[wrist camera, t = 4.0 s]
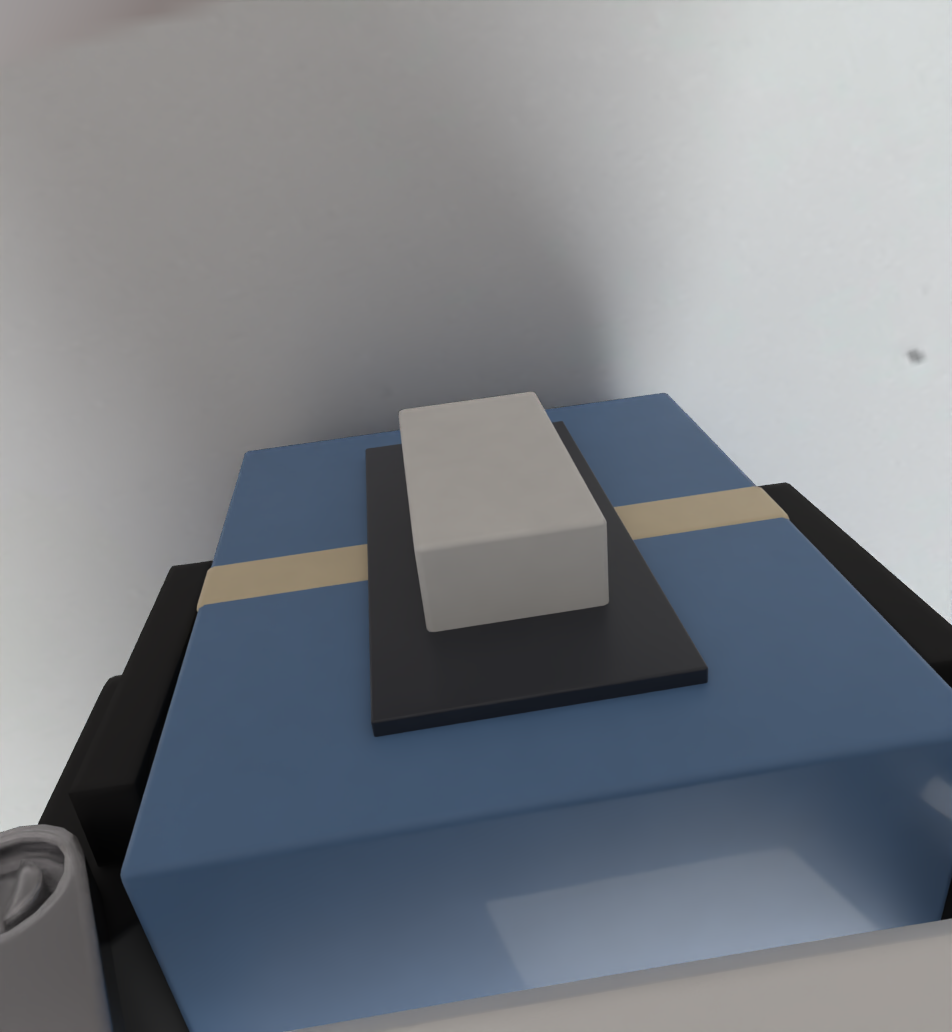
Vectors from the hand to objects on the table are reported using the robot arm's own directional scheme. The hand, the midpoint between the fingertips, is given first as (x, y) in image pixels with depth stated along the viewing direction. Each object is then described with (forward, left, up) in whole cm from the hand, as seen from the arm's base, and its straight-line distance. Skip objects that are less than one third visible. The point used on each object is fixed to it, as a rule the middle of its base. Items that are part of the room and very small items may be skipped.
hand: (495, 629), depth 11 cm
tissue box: (+4, 0, -2) cm, 4 cm away
